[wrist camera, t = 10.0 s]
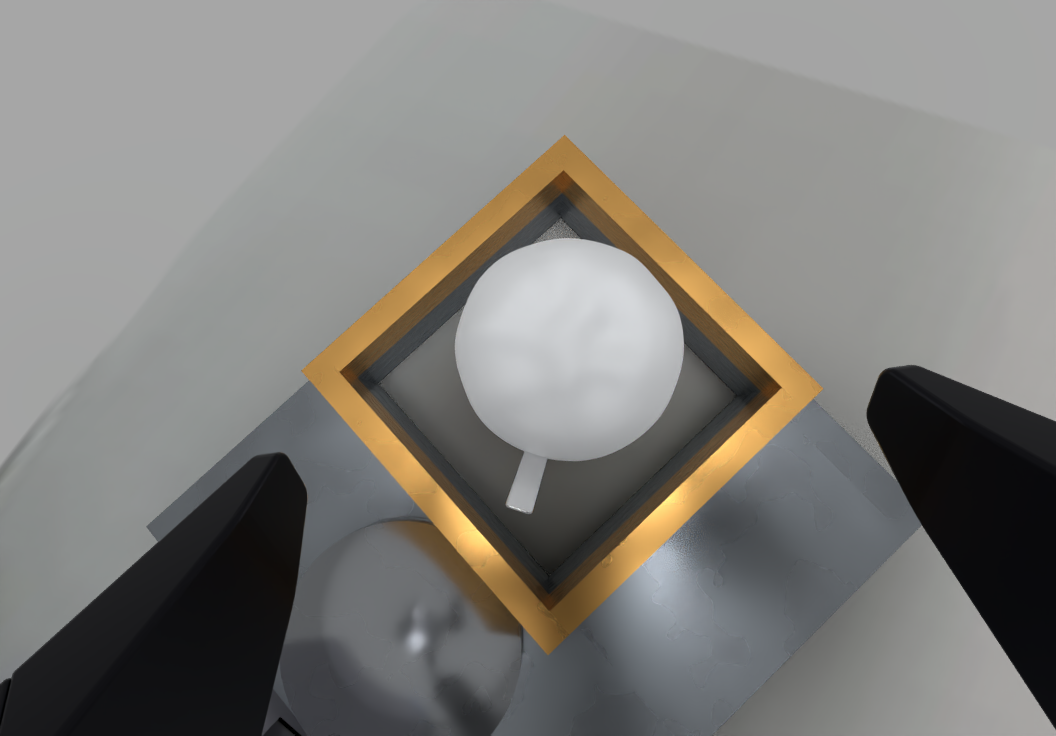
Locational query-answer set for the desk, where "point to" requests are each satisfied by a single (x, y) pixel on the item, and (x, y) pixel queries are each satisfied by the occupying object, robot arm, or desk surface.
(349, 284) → the desk surface
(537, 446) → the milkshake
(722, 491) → the orange-framed metal plate
